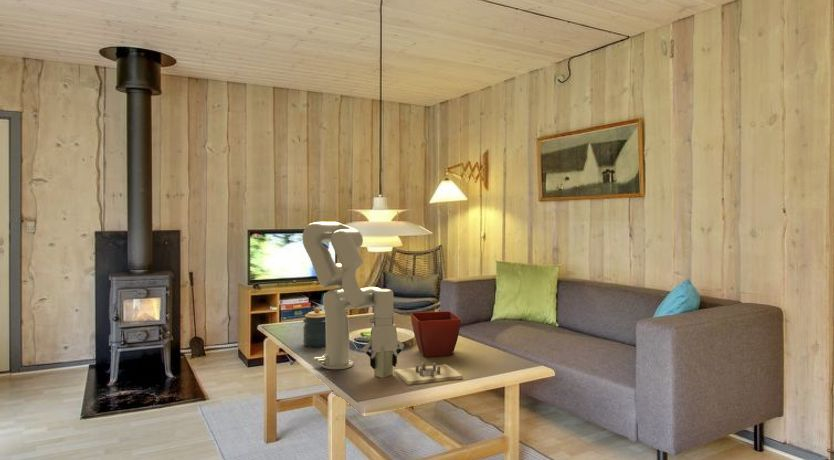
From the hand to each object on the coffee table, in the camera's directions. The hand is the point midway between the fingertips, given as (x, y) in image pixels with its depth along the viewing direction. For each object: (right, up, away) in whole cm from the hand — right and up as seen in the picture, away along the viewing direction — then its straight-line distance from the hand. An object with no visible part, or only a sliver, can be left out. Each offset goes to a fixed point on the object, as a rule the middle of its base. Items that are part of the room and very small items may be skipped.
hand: (383, 366), depth 206 cm
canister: (-35, -2, +48) cm, 59 cm away
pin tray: (+17, -3, 0) cm, 17 cm away
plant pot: (+21, -3, +33) cm, 39 cm away
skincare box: (0, -4, 0) cm, 4 cm away
